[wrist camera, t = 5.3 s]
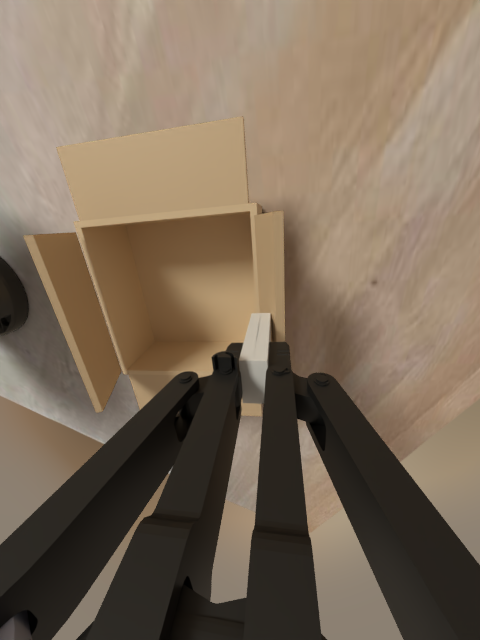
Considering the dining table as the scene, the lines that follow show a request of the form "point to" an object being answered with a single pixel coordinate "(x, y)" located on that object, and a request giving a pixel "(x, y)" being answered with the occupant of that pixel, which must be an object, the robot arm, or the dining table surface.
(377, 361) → the dining table surface
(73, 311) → the flap
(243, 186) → the carton
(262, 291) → the flap
